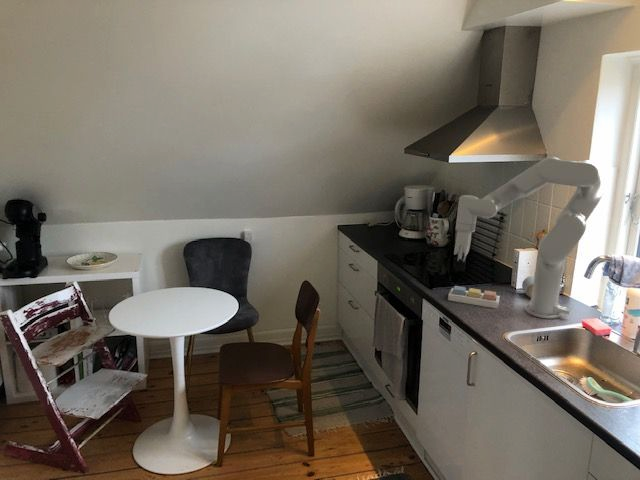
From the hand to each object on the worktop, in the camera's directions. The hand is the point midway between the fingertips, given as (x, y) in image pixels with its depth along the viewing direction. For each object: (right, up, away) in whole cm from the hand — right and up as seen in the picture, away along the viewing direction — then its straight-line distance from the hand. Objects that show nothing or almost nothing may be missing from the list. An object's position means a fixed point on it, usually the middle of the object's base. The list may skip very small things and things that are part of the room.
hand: (460, 270), depth 206 cm
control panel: (+6, -13, +1) cm, 14 cm away
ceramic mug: (+34, -12, +8) cm, 37 cm away
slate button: (0, -10, +3) cm, 11 cm away
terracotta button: (+11, -12, -2) cm, 16 cm away
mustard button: (+6, -11, 0) cm, 12 cm away
